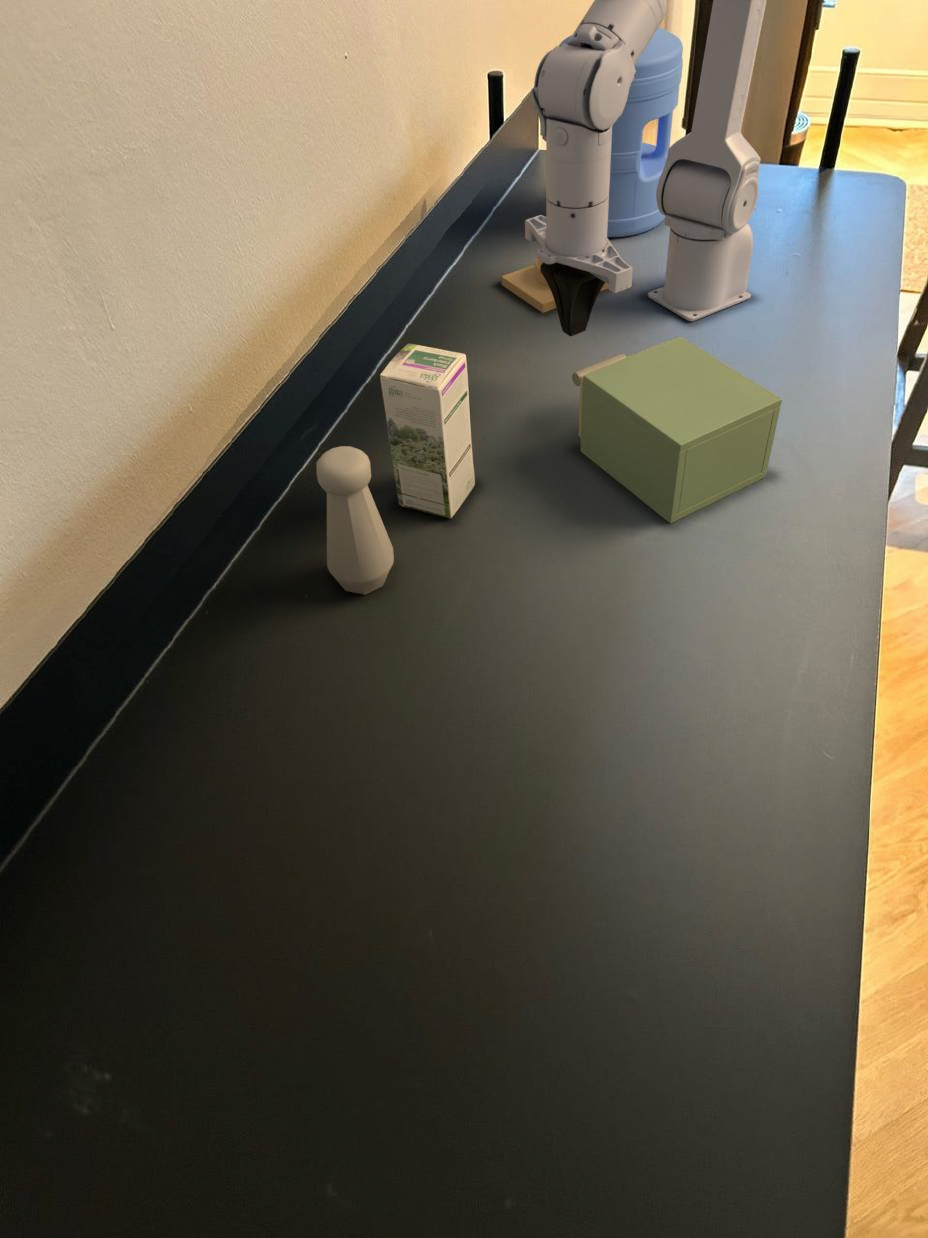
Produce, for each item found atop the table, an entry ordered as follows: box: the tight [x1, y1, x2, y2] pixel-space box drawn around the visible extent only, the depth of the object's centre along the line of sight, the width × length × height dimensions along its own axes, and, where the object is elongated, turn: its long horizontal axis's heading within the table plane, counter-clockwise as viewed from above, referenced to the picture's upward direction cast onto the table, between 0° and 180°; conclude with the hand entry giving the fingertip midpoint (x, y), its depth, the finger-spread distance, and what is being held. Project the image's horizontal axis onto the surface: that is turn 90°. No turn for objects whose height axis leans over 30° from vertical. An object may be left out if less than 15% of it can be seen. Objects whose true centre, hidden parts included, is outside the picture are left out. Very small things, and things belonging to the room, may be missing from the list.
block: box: [500, 256, 609, 314], centre depth 117 cm, size 12×9×3 cm
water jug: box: [558, 26, 684, 238], centre depth 121 cm, size 16×16×28 cm
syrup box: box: [379, 342, 476, 519], centre depth 85 cm, size 6×6×14 cm
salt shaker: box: [316, 445, 395, 596], centre depth 78 cm, size 6×6×13 cm
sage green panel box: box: [580, 335, 783, 524], centre depth 89 cm, size 14×12×9 cm
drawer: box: [571, 341, 665, 438], centre depth 91 cm, size 17×10×7 cm, turn 32°
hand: (574, 330), depth 97 cm, fingers closed
